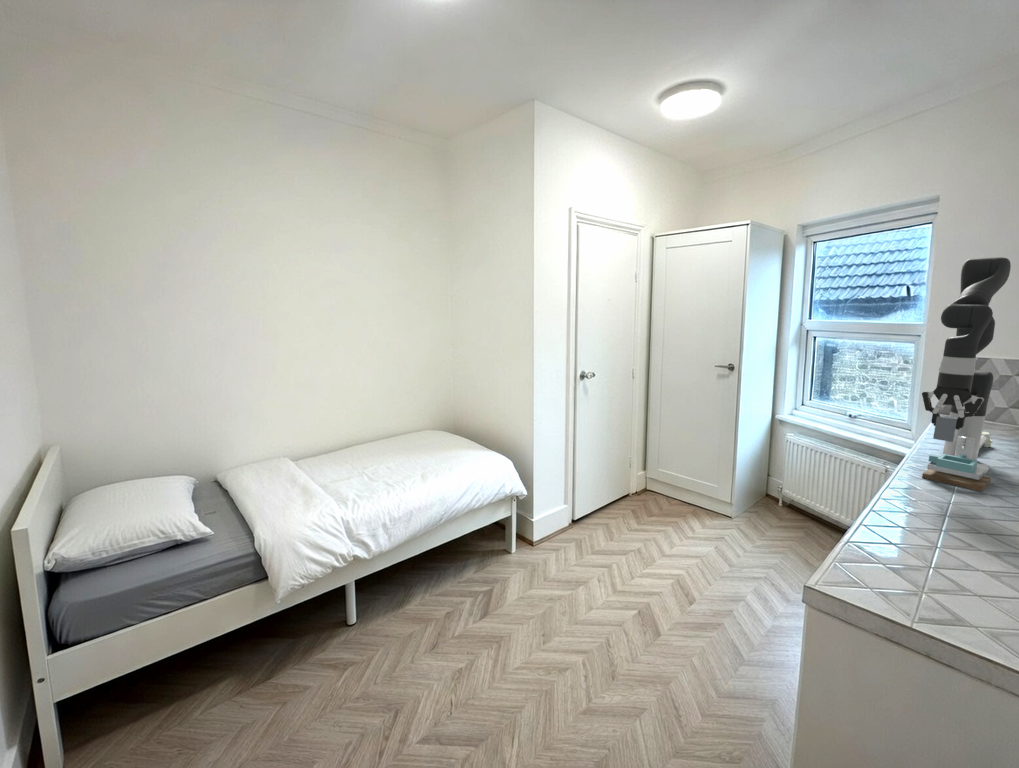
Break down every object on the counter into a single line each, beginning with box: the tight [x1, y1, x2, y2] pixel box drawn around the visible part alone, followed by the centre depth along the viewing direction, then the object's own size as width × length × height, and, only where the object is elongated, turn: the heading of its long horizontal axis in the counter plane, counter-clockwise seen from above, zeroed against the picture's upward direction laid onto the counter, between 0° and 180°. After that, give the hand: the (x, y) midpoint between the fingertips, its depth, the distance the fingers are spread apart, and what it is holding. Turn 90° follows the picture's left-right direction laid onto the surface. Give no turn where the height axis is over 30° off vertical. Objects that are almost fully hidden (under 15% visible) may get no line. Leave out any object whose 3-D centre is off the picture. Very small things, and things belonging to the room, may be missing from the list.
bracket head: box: [928, 453, 979, 473], centre depth 148 cm, size 8×11×2 cm
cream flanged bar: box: [979, 431, 994, 450], centre depth 184 cm, size 5×7×25 cm
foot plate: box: [921, 469, 992, 492], centre depth 150 cm, size 14×14×2 cm
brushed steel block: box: [932, 414, 958, 442], centre depth 141 cm, size 4×4×7 cm
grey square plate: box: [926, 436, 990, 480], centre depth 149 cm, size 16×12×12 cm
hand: (946, 427), depth 141 cm, fingers closed on brushed steel block, 4 cm apart
